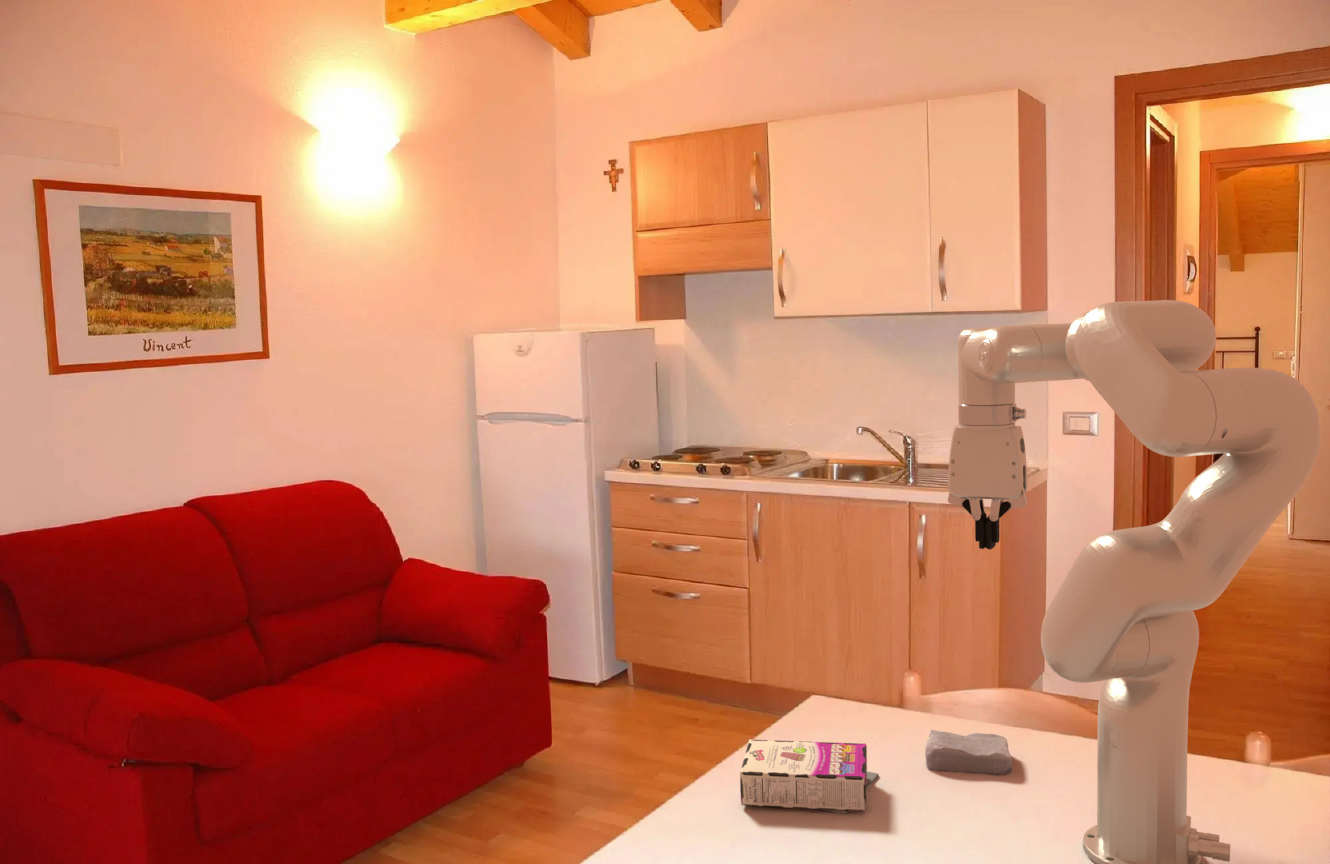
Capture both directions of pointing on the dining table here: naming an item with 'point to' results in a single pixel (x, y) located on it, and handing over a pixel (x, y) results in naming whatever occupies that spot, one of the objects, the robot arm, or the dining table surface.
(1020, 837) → the dining table surface
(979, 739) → the stone block
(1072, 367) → the robot arm
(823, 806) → the candy bar box
